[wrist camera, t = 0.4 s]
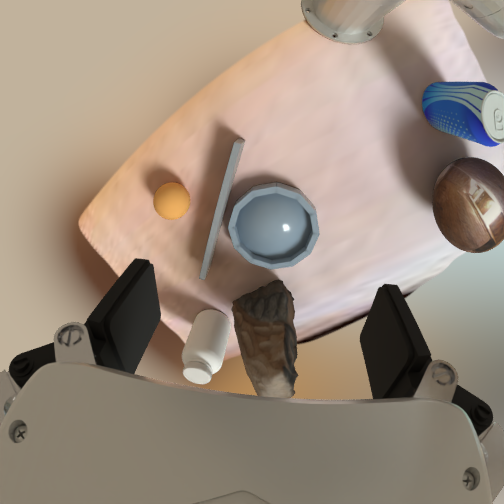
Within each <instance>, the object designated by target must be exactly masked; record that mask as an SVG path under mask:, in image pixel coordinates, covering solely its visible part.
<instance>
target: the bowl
mask: <svg viewBox="0 0 504 504" xmlns="http://www.w3.org/2000/svg"><path fill="white" fill-rule="evenodd" d="M228 229H229V233H230V236H231V239H232V243H233V246H234V248H235V249H236V250H237V251H238V252H239V253H240V254H241V255H242V256H243V257H244V258H245V259H246V260H247V261H248V262H249V263H251V264H255V265H258V266H261V267H265V268H268V269H278V268H285V267H291V266H294V265H295V264H297V263H298V262H300V261H301V260H303V259H304V258H305V257H307V256H308V255H310V253H311V252H312V250H313V248H314V245H315V243H316V241H317V239H318V237H319V227H318V220H317V214H316V210H315V207H314V205H313V204H312V203H311V202H310V201H309V200H308V198H307V197H306V196H305V195H304V194H303V193H302V192H301V190H299V189H297V188H294V187H291V186H288V185H285V184H282V183H279V182H274V183H268V184H263V185H258V186H254V187H252V188H251V189H250V190H249V191H248V192H246V193H245V194H244V195H243V196H242V197H241V198H240V199H238V200H237V201H236V203H235V206H234V208H233V212H232V215H231V219H230V222H229V226H228Z"/></svg>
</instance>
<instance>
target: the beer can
mask: <svg viewBox="0 0 504 504" xmlns="http://www.w3.org/2000/svg"><path fill="white" fill-rule="evenodd" d="M422 108H423V112H424V115H425V117H426V119H427V121H428V122H429V123H430V124H431V125H432V126H433V127H434V128H435V129H437V130H439V131H442V132H445V133H449V134H452V135H455V136H458V137H462V138H465V139H468V140H471V141H474V142H477V143H479V144H482V145H485V146H489V147H493V146H497V145H499V144H500V143H504V94H503V93H502V92H500V91H498V90H497V89H496V88H495V87H494V86H492V85H490V84H488V83H484V82H436V83H432V84H431V85H429V86H428V87H427V88H426V89H425V91H424V93H423V97H422Z"/></svg>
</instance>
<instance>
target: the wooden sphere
mask: <svg viewBox="0 0 504 504" xmlns="http://www.w3.org/2000/svg"><path fill="white" fill-rule="evenodd" d="M432 203H433V213H434V217H435V220H436V223H437V225H438V227H439V229H440V231H441V232H442V234H443V235H444V237H445V238H446V239H447V240H448V241H449V242H450V243H451V244H453V245H454V246H455V247H457V248H459V249H461V250H463V251H466V252H471V253H481V252H486V251H489V250H491V249H493V248H494V247H496V246H497V245H499V244H500V243H501V242H502V241H503V239H504V176H503V174H502V173H501V172H500V171H499V170H498V169H497V168H496V167H495V166H493V165H492V164H490V163H489V162H487V161H485V160H482V159H479V158H472V157H468V158H462V159H458V160H456V161H454V162H452V163H451V164H449V165H448V166H447V167H446V168H445V169H444V170H443V171H442V173H441V174H440V176H439V177H438V179H437V181H436V184H435V187H434V191H433V200H432Z"/></svg>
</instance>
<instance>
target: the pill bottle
mask: <svg viewBox="0 0 504 504" xmlns="http://www.w3.org/2000/svg"><path fill="white" fill-rule="evenodd" d="M230 329H231V323H230V320H229V319H228V317H227V316H226V315H224V314H223V313H221V312H219V311H216V310H211V309H208V310H203V311H201V312H200V313H198V315H197V316H196V318H195V320H194V323H193V326H192V328H191V331H190V334H189V336H188V339H187V341H186V344H185V347H184V349H183V352H182V360H183V362H184V364H185V366H184V369H183V375H184V376H185V377H186V378H187V379H188V380H190V381H191V382H194V383H198V384H206V383H208V382H209V381H210V380H211V377H212V374H213V373H216V372H217V371H218V370H219V369H220V368H221V366H222V362H223V358H224V354H225V350H226V346H227V342H228V338H229V334H230Z"/></svg>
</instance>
